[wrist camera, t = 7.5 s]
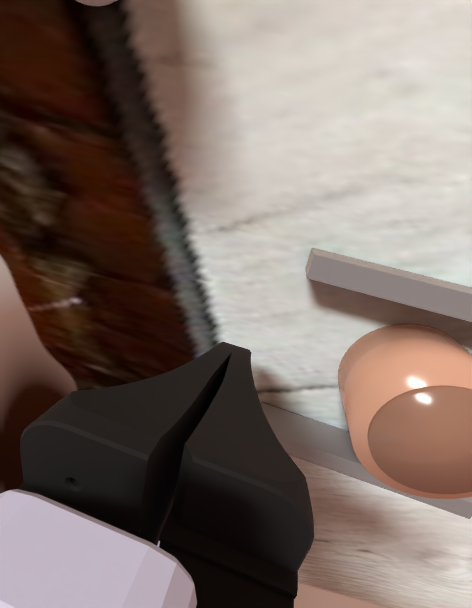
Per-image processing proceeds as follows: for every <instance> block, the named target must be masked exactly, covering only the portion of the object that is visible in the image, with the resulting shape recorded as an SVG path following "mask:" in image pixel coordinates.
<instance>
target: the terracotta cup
mask: <svg viewBox="0 0 472 608" xmlns="http://www.w3.org/2000/svg"><path fill="white" fill-rule="evenodd" d="M338 383H339V388H340V393H341V397H342V401H343V406H344V410H345V415H346V419H347V424H348V428H349V432H350V437H351V441H352V445H353V449H354V452H355V454H356V456H357V458H358V459H359V461H360V462H361V464H362V465H363V466H364V467H365V469H366V470H367V471H368V472H369V473H370V474H372V475H373V476H374V477H375V478H377V479H378V480H380V481H381V482H382V483H384V484H386V485H388V486H390V487H392V488H394V489H396V490H399V491H401V492H404V493H408V494H411V495H415V496H419V497H425V498H433V499H459V498H467V497H472V354H471V353H470V352H469V351H467V350H466V349H465V348H464V347H463V346H461V345H460V344H459V343H458V342H457V341H455V340H454V339H453V338H451V337H450V336H449V335H447V334H445V333H443V332H441V331H439V330H437V329H434V328H431V327H427V326H423V325H416V324H398V325H391V326H386V327H383V328H380V329H377V330H374V331H372V332H370V333H368V334H366V335H364V336H363V337H361V338H360V339H359V340H357V341H356V342H355V343H354V344H353V345H352V346H351V347H350V348H349V349H348V350H347V352H346V353H345V355H344V356H343V358H342V360H341V363H340V366H339V370H338Z"/></svg>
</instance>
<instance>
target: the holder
mask: <svg viewBox="0 0 472 608" xmlns="http://www.w3.org/2000/svg"><path fill="white" fill-rule="evenodd" d="M305 269H306V278H308V279H311V280H315V281H319V282H323V283H326V284H330V285H334V286H338V287H341V288H345V289H349V290H353V291H356V292H360V293H364V294H368V295H371V296H375V297H379V298H383V299H386V300H390V301H394V302H398V303H401V304H405V305H409V306H413V307H416V308H420V309H424V310H428V311H431V312H435V313H439V314H443V315H446V316H450V317H454V318H458V319H461V320H465V321H469V322H472V288H471V287H467V286H463V285H459V284H455V283H451V282H447V281H443V280H439V279H435V278H431V277H427V276H423V275H419V274H415V273H411V272H407V271H403V270H399V269H395V268H391V267H387V266H383V265H379V264H375V263H371V262H367V261H363V260H359V259H355V258H351V257H347V256H343V255H339V254H335V253H331V252H327V251H323V250H319V249H315V248H312V249H311V253H310V256H309V259H308V262H307V265H306V268H305ZM261 406H262V409H263V411H264V414H265V416H266V418H267V420H268V422H269V424H270V426H271V428H272V430H273V431H274V433H275V435H276V437H277V439H278V441H279V442H280V444H281V445H282V447H283V448H284V450H285V451H286V453H287V454H289V455H292V456H295V457H298V458H300V459H303V460H306V461H309V462H312V463H314V464H317V465H320V466H323V467H325V468H328V469H331V470H334V471H337V472H339V473H342V474H345V475H348V476H351V477H353V478H356V479H359V480H362V481H365V482H367V483H370V484H373V485H376V486H379V487H381V488H384V489H387V490H390V491H393V492H395V493H398V494H401V495H404V496H407V497H409V498H412V499H415V500H418V501H421V502H423V503H426V504H429V505H432V506H435V507H437V508H440V509H443V510H446V511H448V512H451V513H454V514H457V515H460V516H462V517H465V518H468V519H470V518H471V517H472V497H467V498H459V499H433V498H425V497H419V496H415V495H411V494H408V493H404V492H401V491H399V490H396V489H394V488H392V487H390V486H388V485H386V484H384V483H382V482H381V481H380V480H378V479H377V478H375V477H374V476H373V475H372V474H370V473H369V472H368V471H367V470H366V469H365V467H364V466H363V465H362V464H361V462H360V461H359V459H358V458H357V456H356V454H355V452H354V449H353V445H352V441H351V437H350V432H348V431H345V430H342V429H339V428H336V427H333V426H330V425H327V424H324V423H321V422H318V421H315V420H312V419H309V418H307V417H304V416H301V415H298V414H295V413H292V412H289V411H286V410H283V409H280V408H277V407H274V406H271V405H268V404H265V403H262V404H261Z"/></svg>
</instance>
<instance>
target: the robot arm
mask: <svg viewBox="0 0 472 608" xmlns="http://www.w3.org/2000/svg"><path fill="white" fill-rule="evenodd" d="M20 453H21V460H22V469H23V478H24V483H23V484H22V485H21V486H20V487H19V488H18V489H16V490H10V491H7V492H4V493H2V494H0V608H294V599H295V597H296V596H297V590H298V589H297V588H298V587H297V586H298V569H299V568H300V566H301V564H302V562H303V560H304V559H305V557H306V555H307V553H308V551H309V550H310V548H311V545H312V542H313V538H314V523H313V514H312V507H311V502H310V496H309V491H308V487H307V482H306V478H305V476H304V475H303V473H302V472H301V471H300V470H299V468H298V467H297V466H296V464H295V463H294V462H293V461H292V459H291V458H290V457H289V455H288V454H287V453H286V451H285V450H284V448H283V447H282V445H281V444H280V442H279V441H278V439H277V437H276V435H275V433H274V431H273V430H272V428H271V426H270V424H269V422H268V420H267V418H266V416H265V414H264V411H263V409H262V406H261V404H260V401H259V398H258V395H257V392H256V389H255V385H254V381H253V376H252V370H251V352H250V350H248V349H245V348H242V347H238V346H235V345H232V344H229V343H225V342H222V343H220V344H218V345H217V346H215V347H214V348H212V349H211V350H209V351H208V352H206V353H205V354H203V355H201V356H200V357H198V358H196V359H194V360H193V361H191V362H189V363H187V364H185V365H183V366H181V367H179V368H177V369H174V370H172V371H169V372H167V373H164V374H162V375H159V376H155V377H152V378H148V379H145V380H142V381H138V382H134V383H129V384H125V385H119V386H114V387H108V388H101V389H92V390H83V391H73V392H71V393H70V394H68V395H67V396H66V397H64V398H63V399H61V400H60V401H59V402H57V403H56V404H55V405H54V406H52V407H51V408H50V409H49V410H47V411H46V412H45V413H44V414H43V415H41V416H40V417H39V418H38V419H37V420H35V421H34V422H33V423H31V424H30V425H29V426H28V427H27V428H25V429H24V432H23V434H22V436H21V442H20Z"/></svg>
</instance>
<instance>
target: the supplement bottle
mask: <svg viewBox="0 0 472 608" xmlns="http://www.w3.org/2000/svg"><path fill="white" fill-rule="evenodd" d="M76 1H78V2H80V3H82V4H85V5H89V6H104V5H109V4H111V3H113V2H115V1H117V0H76Z"/></svg>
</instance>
